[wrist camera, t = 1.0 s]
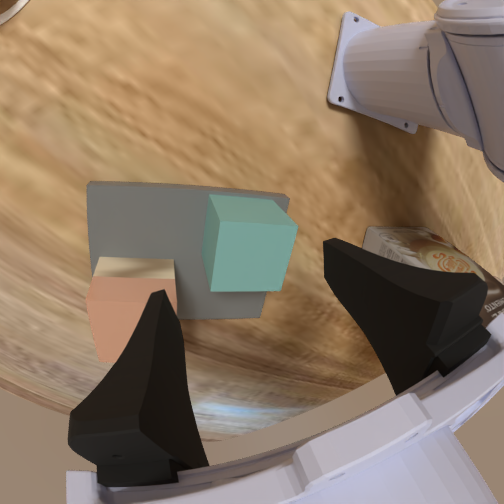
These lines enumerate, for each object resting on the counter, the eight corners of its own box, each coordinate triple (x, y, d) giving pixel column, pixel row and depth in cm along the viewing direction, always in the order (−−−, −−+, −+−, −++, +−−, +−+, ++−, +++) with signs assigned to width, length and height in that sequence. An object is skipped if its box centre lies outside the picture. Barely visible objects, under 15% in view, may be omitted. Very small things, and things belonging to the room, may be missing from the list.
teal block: (272, 200, 20) (298, 226, 16) (260, 255, 22) (280, 290, 18) (209, 194, 19) (220, 221, 15) (201, 254, 21) (210, 291, 17)
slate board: (284, 194, 21) (289, 198, 21) (256, 310, 26) (259, 317, 25) (90, 181, 17) (86, 185, 16) (100, 309, 22) (98, 317, 21)
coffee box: (427, 224, 27) (537, 310, 14) (410, 274, 30) (501, 365, 17) (365, 224, 25) (498, 342, 11) (349, 283, 28) (449, 406, 15)
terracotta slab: (174, 278, 18) (177, 303, 16) (173, 338, 21) (175, 363, 19) (93, 276, 17) (85, 300, 15) (103, 336, 19) (99, 361, 17)
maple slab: (173, 259, 20) (174, 278, 18) (171, 317, 23) (173, 338, 21) (99, 256, 19) (93, 276, 17) (106, 315, 21) (103, 336, 19)
